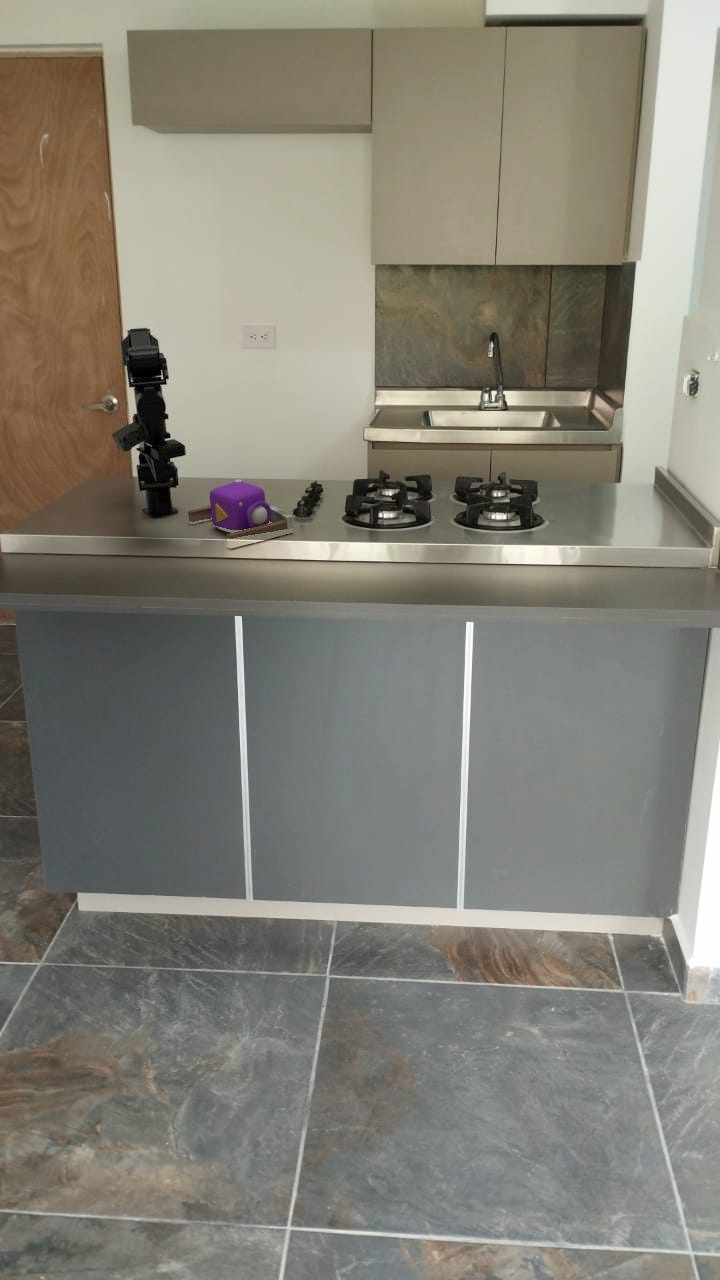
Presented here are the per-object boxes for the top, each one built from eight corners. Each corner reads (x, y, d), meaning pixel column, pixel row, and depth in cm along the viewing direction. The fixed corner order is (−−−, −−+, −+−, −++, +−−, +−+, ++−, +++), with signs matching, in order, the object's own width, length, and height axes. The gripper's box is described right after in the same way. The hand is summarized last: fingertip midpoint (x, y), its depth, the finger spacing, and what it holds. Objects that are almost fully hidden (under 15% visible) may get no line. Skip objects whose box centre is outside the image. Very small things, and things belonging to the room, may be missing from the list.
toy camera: (253, 543, 232) (250, 499, 227) (205, 532, 239) (201, 488, 234) (284, 527, 240) (281, 484, 235) (236, 517, 247) (233, 475, 242)
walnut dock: (189, 523, 244) (187, 506, 242) (249, 508, 251) (248, 492, 249) (230, 549, 229) (229, 532, 227) (293, 533, 236) (292, 516, 234)
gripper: (97, 407, 229) (106, 477, 236) (132, 425, 215) (141, 499, 222) (145, 398, 235) (153, 467, 242) (183, 415, 221) (190, 488, 228)
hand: (158, 480), depth 233 cm, fingers closed
